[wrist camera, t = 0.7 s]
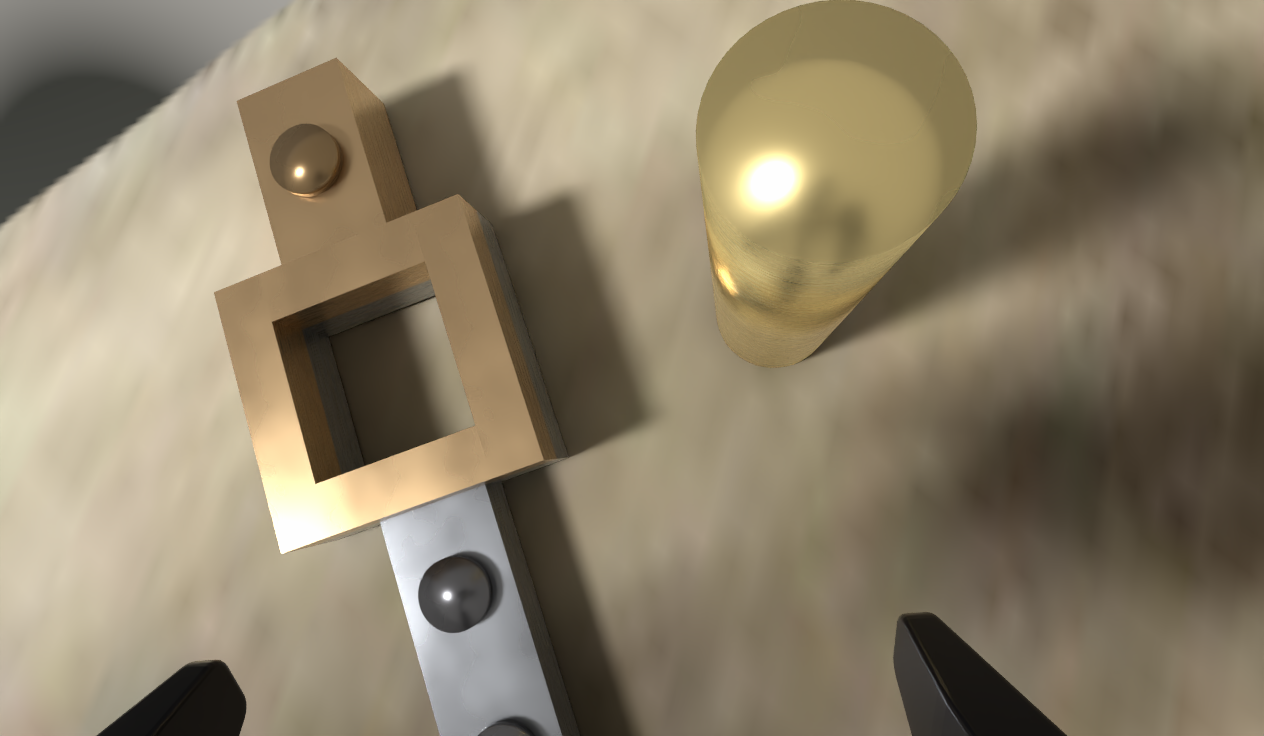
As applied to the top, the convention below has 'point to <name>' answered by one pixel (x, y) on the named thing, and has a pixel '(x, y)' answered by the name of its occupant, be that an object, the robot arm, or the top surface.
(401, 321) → the top surface
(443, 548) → the square frame with handle
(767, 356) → the brass pin
